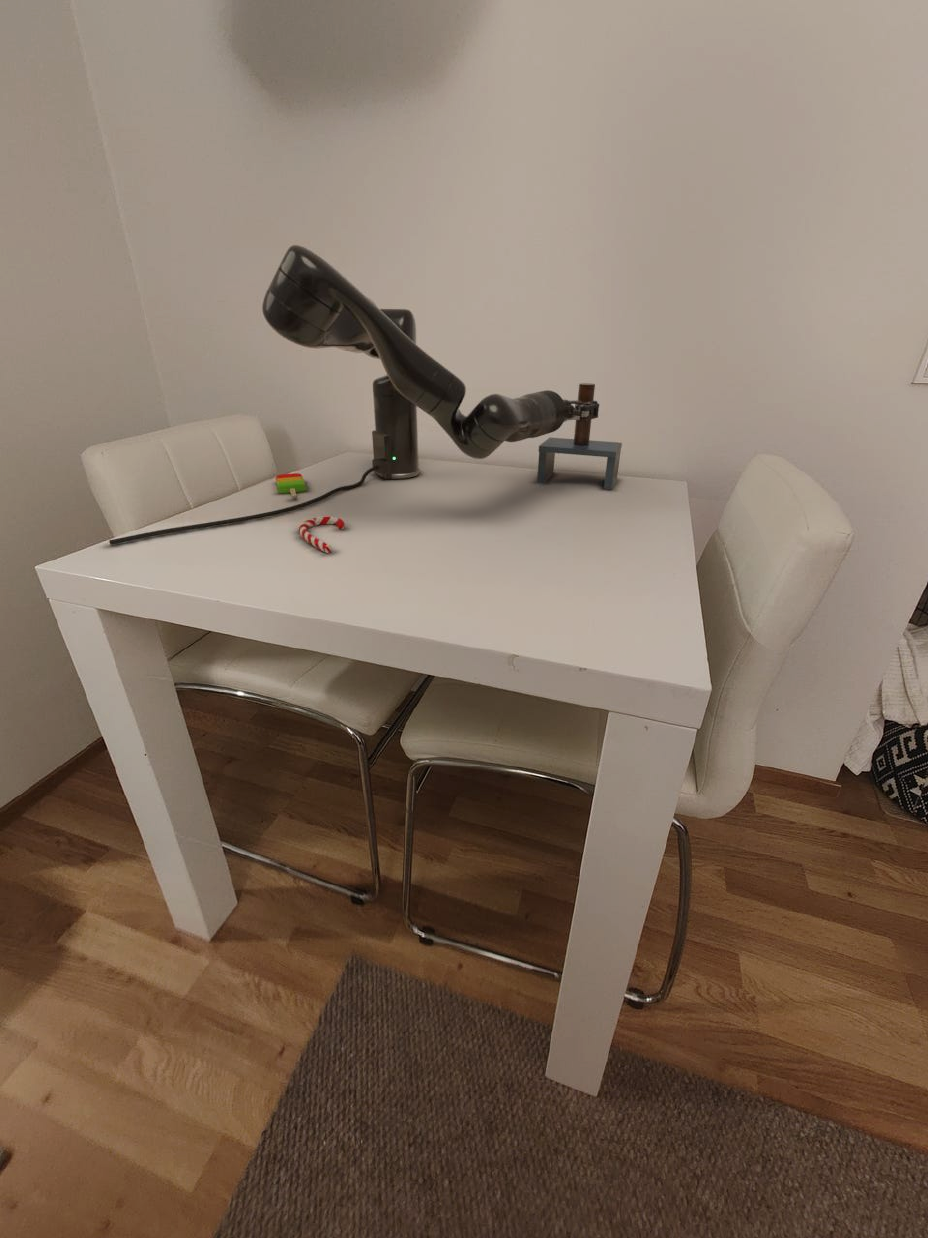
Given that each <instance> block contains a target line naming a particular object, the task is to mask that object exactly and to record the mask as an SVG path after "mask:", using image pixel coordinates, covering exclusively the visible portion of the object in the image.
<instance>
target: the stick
mask: <svg viewBox="0 0 928 1238" xmlns="http://www.w3.org/2000/svg"><path fill="white" fill-rule="evenodd" d="M578 384H579V385H578V392H577V400H579V401H582V403H584V402H590V401H595V399H594V398H595V391H596V390H595V389H596V383H592V382H580V383H578ZM591 428H592V419H591V420H587V421H584V422H582V421H579V420H575V424H574V436H573V439H574V445H578V446H587V445H589V440H590V437H591Z"/></svg>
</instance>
